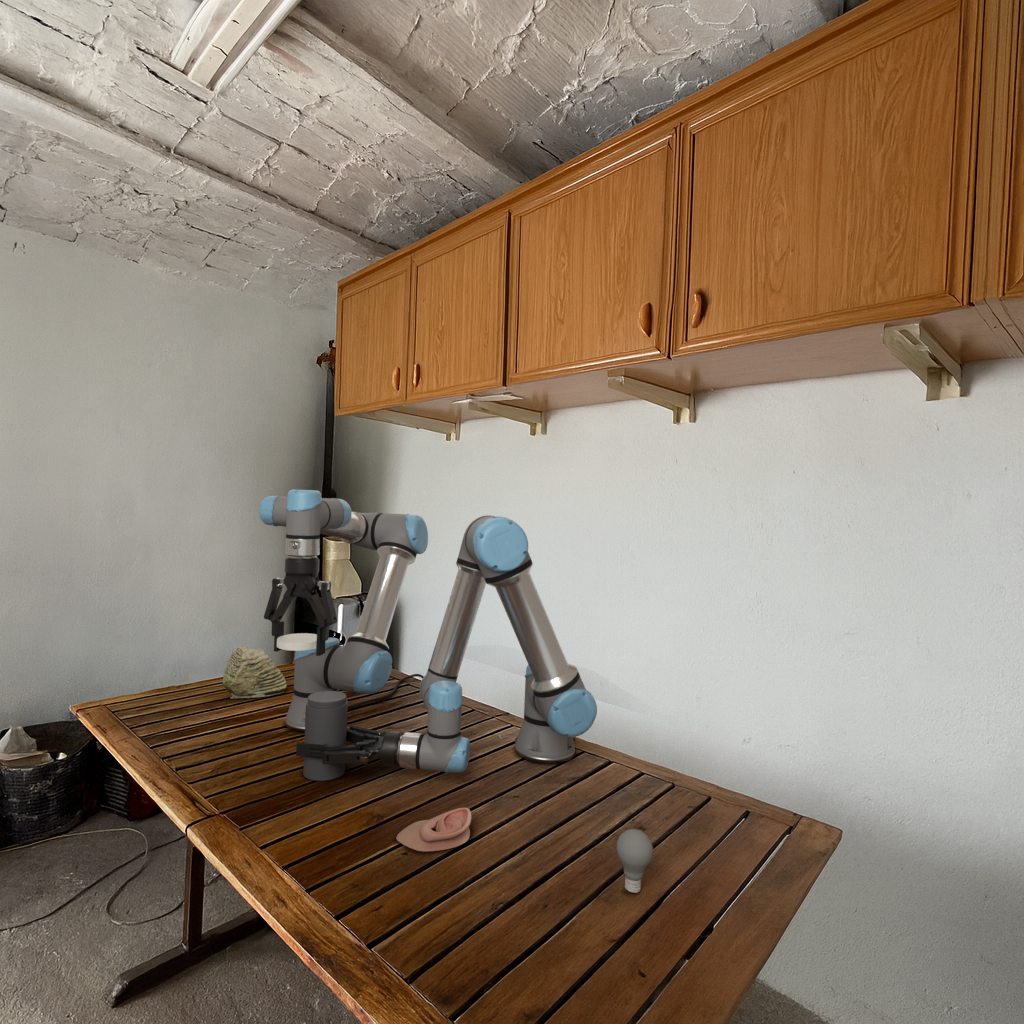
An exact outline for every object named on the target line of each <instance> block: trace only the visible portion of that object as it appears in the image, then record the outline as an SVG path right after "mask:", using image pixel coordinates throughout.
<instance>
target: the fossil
mask: <svg viewBox="0 0 1024 1024" xmlns="http://www.w3.org/2000/svg"><path fill="white" fill-rule="evenodd" d="M222 676H223V677H222V685H223V687H224V688H225V690H226V691H228V693H229V698H230V699H250V698H264V697H271V696H275V695H281V694H284V693H285V691H286V689H287V687H288V686H287V680H286V678H285V676H284V674H283V673H282V672H281V669H279V668H278V667H277V665H276V663H275V662H274V660H273V659H272V658H271V657H270V656H269V655H268V654H267V653H266V652H265V650H264V649H263V648H260V647H258V648H251V647H247V646H246V647H245V646H238V647H237V648H236V649H235V650H233V651H232V653H231V656H230V657H229V659H228V660H227V663H226V666H225V668H224V671H223V675H222Z"/></svg>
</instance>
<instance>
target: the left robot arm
mask: <svg viewBox="0 0 1024 1024" xmlns="http://www.w3.org/2000/svg"><path fill="white" fill-rule="evenodd" d="M258 514H259V519H260V520H261V521H262V523H263V524H264V525H267V526H273V527H284V528H286V529H285V530H286V533H285V552H284V554H285V556H287V557H285V558H284V573H285V575H284V577H281V576H280V577H275V578H272V580H271V591H270V594H269V598H268V601H267V605H266V608H265V611H264V615H263V619H264V620H268V621H270V622H271V636H272V637H273V652H280V651H282V650H283V649H279V648H278V647H277V638H278V637H280V636H283V635H285V621H284V620H283V617H284V616H285V614H286V612H287V611H288V608H289V607H290V606H291V603H292V602H293V600H294V599H295V598H297V597H299V598H302V599H305V600H306V601H307V602H308V603H309V605H310V607H311V609H312V611H313V613H314V615H315V617H316V619H317V622H318V624H319V626H317V627H316V634H317V646H316V649H311V650H303V651H294V653H295V654H294V658H293V660H294V672H293V673H294V674H293V695H292V696H293V697H292V699H291V702H290V704H289V708H288V711H287V713H286V715H285V726H286V728H287V729H289V730H291V731H294V732H295V731H296V732H301V733H305V714H306V702H307V701H308V696H309V695H311V694H313V693H316V692H321V691H345V692H351V693H357V694H358V695H362V694H366V695H367V694H368V695H373V694H376V693H378V692H380V690H382V689H383V688H384V687H385V685H386V684H387V683H388V681H389V679H390V676H391V673H392V669H393V665H392V664H393V657H392V655H391V653H390V652H389V649H390V647H389V645H388V643H387V641H386V640H387V638H388V634H389V632H390V631H389V630H390V627H391V625H392V621H393V618H394V614H395V611H396V607H397V605H398V600H399V597H400V594H401V591H402V587H403V584H404V580H405V577H406V574H407V571H408V567H409V566H411V565H412V564H414V563H415V562H416V558H417V555H423V554H424V553H425V552H426V550H427V548H428V544H429V532H428V526H427V524H426V521H425V519H424V518H423V517H421V515H417V514H410V513H389V512H358V511H352V508H351V506H350V504H349V503H348V502H347V501H346V500H345V499H343V498H337V497H335V498H334V497H330V498H329V497H328V498H327V497H325V498H324V497H322V492H320V490H317V489H315V490H313V489H291V490H289V491H288V492H287V496H285V495H284V496H283V495H282V496H281V495H269V496H266V497H265V498H263V499H262V500H261V502H260V504H259V511H258ZM321 535H323V536H329V537H334V538H339V539H340V540H341V541H342V542H344V543H345V544H350V545H353V546H356V547H360V548H364V549H367V550H372V551H376V553H377V555H378V556H379V559H378V563H377V565H376V568H375V571H374V575H373V578H372V581H371V584H370V587H369V589H368V594H367V596H366V600H365V603H364V606H363V609H362V612H361V615H360V618H359V621H358V624H357V627H356V631H355V633H353V634H351V635H350V636H348V637H347V640H346V642H345V645H340V644H341V641H340V639H339V638H337V637H330V627H331V626H332V625H334V624H337V623H338V617H337V612H336V608H335V604H334V599H333V595H332V582H331V581H330V580H327V581H324V580H323V581H322V580H320V578H319V572H320V558H319V557H318V556H319V555H320V554H321V552H320V550H321ZM284 586H285V588H286V590H285V592H284V593H283V595H282V592H283V588H284ZM317 589H318V590H319V591H320V596H321V600H320V596H319V593H318V591H317ZM281 595H282V597H283V598H282V600H281V601H280V598H281ZM321 601H322V602H321ZM424 676H425V675H422V674H421V673H414V674H410V675H407V676H405V677H403V678H401V679H399V680H397V682H396V684H395V686H394V687H393V689H392V691H391V692H389V693H388V694H384V695H382V696H378V697H373V698H370V699H366V700H363V701H359V702H356V703H352V704H348V709H352V708H356V707H358V706H362V705H366V704H369V703H372V702H376V701H381V700H384V699H387V698H390V697H392V695H394V694H395V693H396V691H397V689H398V688H399V686H400V684H401V683H402V682H405V681H406V680H408V679H411V678H415V677H419V678H421V679H423V677H424Z"/></svg>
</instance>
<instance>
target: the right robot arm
mask: <svg viewBox="0 0 1024 1024" xmlns="http://www.w3.org/2000/svg"><path fill="white" fill-rule="evenodd" d="M455 565H456V567H457V569H458V570H457V573H456V575H455V576H456V577H455V580H454V583H453V586H452V589H451V593H450V595H449V599H448V602H447V606H446V609H445V612H444V616H443V618H442V622H441V625H440V629H439V632H438V635H437V638H436V641H435V646H434V648H433V651H432V655H431V657H430V661H429V664H428V668H427V671H426V673H425V675H423V676H424V677H423V678H421V681H420V682H419V695H420V698H421V700H422V702H423V704H424V706H425V709H426V712H427V732H426V733H422V732H408V731H405V732H404V733H403V732H402V731H395V730H388V731H387V730H386V731H385V730H375V729H371V728H366V727H365V728H364V727H360V726H356V725H350V726H349V727H347V735H346V743H351V744H348V745H347V744H346V746H336V747H327V745H326V744H324V745H318V744H307V743H304V742H297V743H296V745H295V746H296V749H295V756H296V757H302V758H304V757H312V758H323V764H345V765H362V766H363V765H364V766H367V765H369V763H370V762H369V760H373V759H379V761H380V764H381V766H383V767H390V768H391V767H392V768H398V767H400V768H403V769H410V770H411V771H415V769H416V770H425V771H434V772H441V773H442V772H443V773H455V774H456V773H464V772H465V771H466V770H467V769H468V766H469V762H470V756H471V740H470V739H469V738H468V737H464V736H462V731H461V730H462V715H463V714H462V713H463V702H464V697H463V687H462V685H461V684H460V683H458V682H457V680H458V677H459V673H460V670H461V666H462V664H463V660H464V657H465V654H466V650H467V647H468V643H469V640H470V638H471V634H472V631H473V627H474V625H475V621H476V619H477V615H478V612H479V609H480V606H481V602H482V598H483V596H484V592H485V589H486V585H489V586H491V587H493V588H495V590H496V592H497V595H498V597H499V599H500V602H501V604H502V606H503V609H504V612H505V613H506V615H507V617H508V620H509V622H510V623H509V624H510V625H511V627H512V630H513V632H514V634H515V637H516V639H517V642H518V644H519V646H520V648H521V650H522V653H523V656H524V657H525V660H526V662H527V666H526V667H525V675H524V678H525V682H524V683H525V684H524V704H523V706H524V707H523V720H522V724H521V727H520V730H519V731H518V735H517V736H516V737H515V739H514V744H515V746H514V747H515V750H514V751H515V753H516V755H518V756H519V757H520V758H521V759H524V760H526V761H529V762H532V763H538V764H545V765H548V764H549V765H552V764H553V765H554V764H561V763H562V764H563V763H566V762H568V761H570V760H572V759H574V757H575V754H576V753H575V752H576V746H575V741H576V737H579V736H582V735H584V734H585V733H586V732H587V731H589V730H590V728H591V727H592V726H593V725H594V722H595V720H596V718H597V715H598V704H597V701H596V699H595V697H594V695H592V693H591V692H590V691H589V690H587V689H586V686H585V684H584V681H583V679H582V677H581V674H580V673H579V669H578V668H577V666H575V665H572V664H570V663H568V661H567V658H566V656H565V653H564V651H563V649H562V647H561V644H560V641H559V639H558V637H557V634H556V632H555V630H554V627H553V624H552V623H551V620H550V617H549V615H548V613H547V611H546V608H545V606H544V604H543V601H542V599H541V596H540V594H539V592H538V589H537V587H536V584H535V583H534V580H533V577H532V575H531V570H532V567H533V565H534V563H533V560H532V558H531V556H530V553H529V539H528V537H527V533H526V532H525V531H524V529H523V528H522V526H520V525H519V524H518V523H517V522H516V521H514V520H513V519H511V518H508V517H506V516H495V515H482V516H479V517H477V518H475V519H474V520H472V521H471V522H470V523H469V524H468V526H467V527H466V529H465V531H464V534H463V536H462V540H461V545H460V548H459V552H458V556H457V558H456V562H455Z"/></svg>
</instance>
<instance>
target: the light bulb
mask: <svg viewBox="0 0 1024 1024" xmlns="http://www.w3.org/2000/svg"><path fill="white" fill-rule="evenodd" d="M615 849H616V854H617V857H618V859H619V861H620V863H621V865H622V867H623V873H624V874H623V875H624V876H625V878H624V888H625V890H627V891H628V892H630V893H634V894H635V893H639V892H640V891H641V889H642V887H641V886H642V879H643V877H644V875H645V871H646V868H647V867H648V866H649V864H650V863H651V861H652V859H653V855H654V847H653V843H652V841H651V838H649V836H648V835H647V834H646V833H645V832H643V831H642V830H641V829H636V828H629V829H627V830H625V831H623V832H622V833H621V834H620V835H619V837H618V839H617V841H616V847H615Z"/></svg>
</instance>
